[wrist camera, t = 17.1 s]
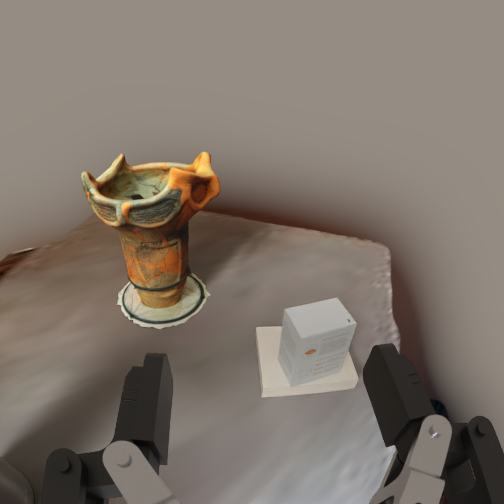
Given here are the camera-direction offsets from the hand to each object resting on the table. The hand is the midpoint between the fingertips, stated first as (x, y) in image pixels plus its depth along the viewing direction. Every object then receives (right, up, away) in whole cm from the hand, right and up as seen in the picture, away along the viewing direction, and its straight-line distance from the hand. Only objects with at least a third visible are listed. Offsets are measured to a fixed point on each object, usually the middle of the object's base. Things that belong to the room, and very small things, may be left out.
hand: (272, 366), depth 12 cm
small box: (+7, -13, +33) cm, 36 cm away
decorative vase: (-18, -4, +49) cm, 52 cm away
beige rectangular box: (+7, -13, +36) cm, 39 cm away
